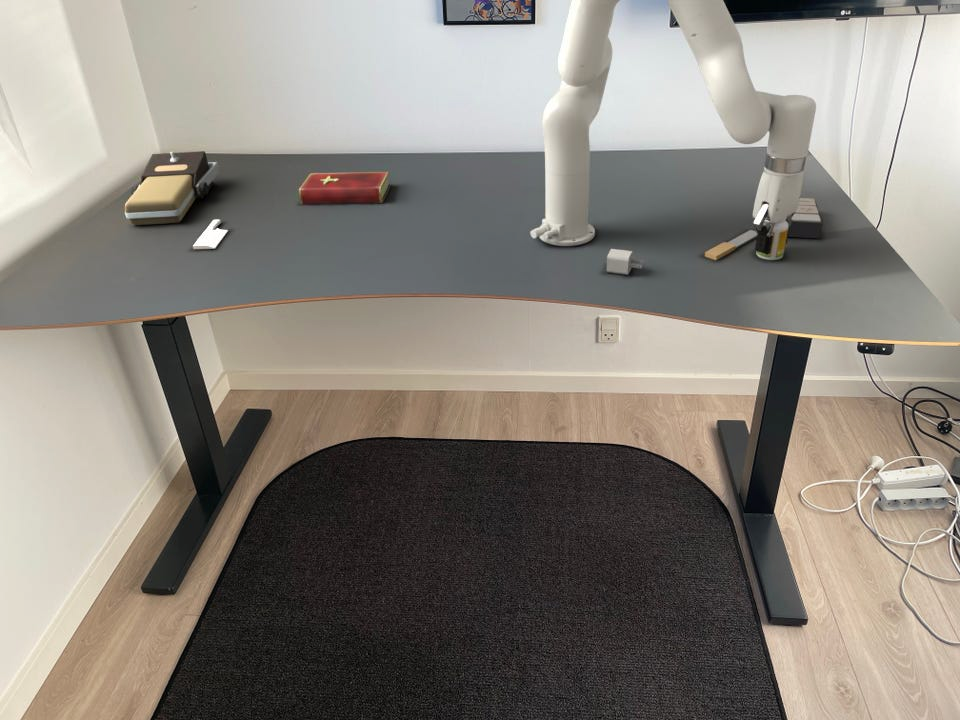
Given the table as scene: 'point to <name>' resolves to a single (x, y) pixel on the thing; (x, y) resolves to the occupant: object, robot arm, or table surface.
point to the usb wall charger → (621, 262)
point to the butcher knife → (210, 237)
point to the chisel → (730, 245)
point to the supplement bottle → (776, 240)
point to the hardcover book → (344, 188)
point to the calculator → (806, 220)
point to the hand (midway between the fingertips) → (770, 246)
